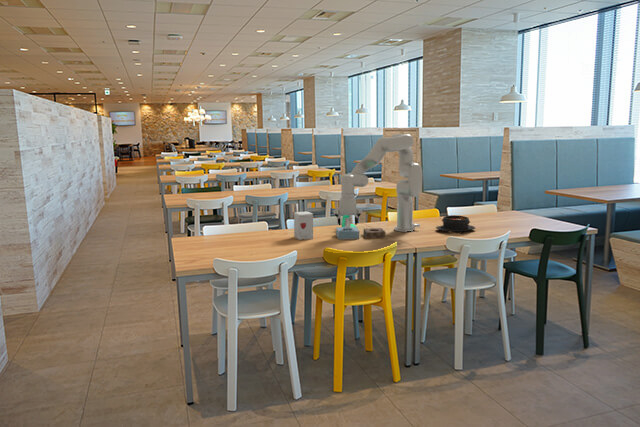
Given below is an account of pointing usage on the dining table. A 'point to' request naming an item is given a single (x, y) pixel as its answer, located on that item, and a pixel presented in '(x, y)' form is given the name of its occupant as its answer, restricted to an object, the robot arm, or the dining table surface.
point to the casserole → (455, 224)
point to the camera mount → (344, 221)
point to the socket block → (347, 233)
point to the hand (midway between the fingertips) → (347, 224)
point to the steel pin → (347, 223)
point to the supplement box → (303, 225)
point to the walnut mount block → (374, 233)
